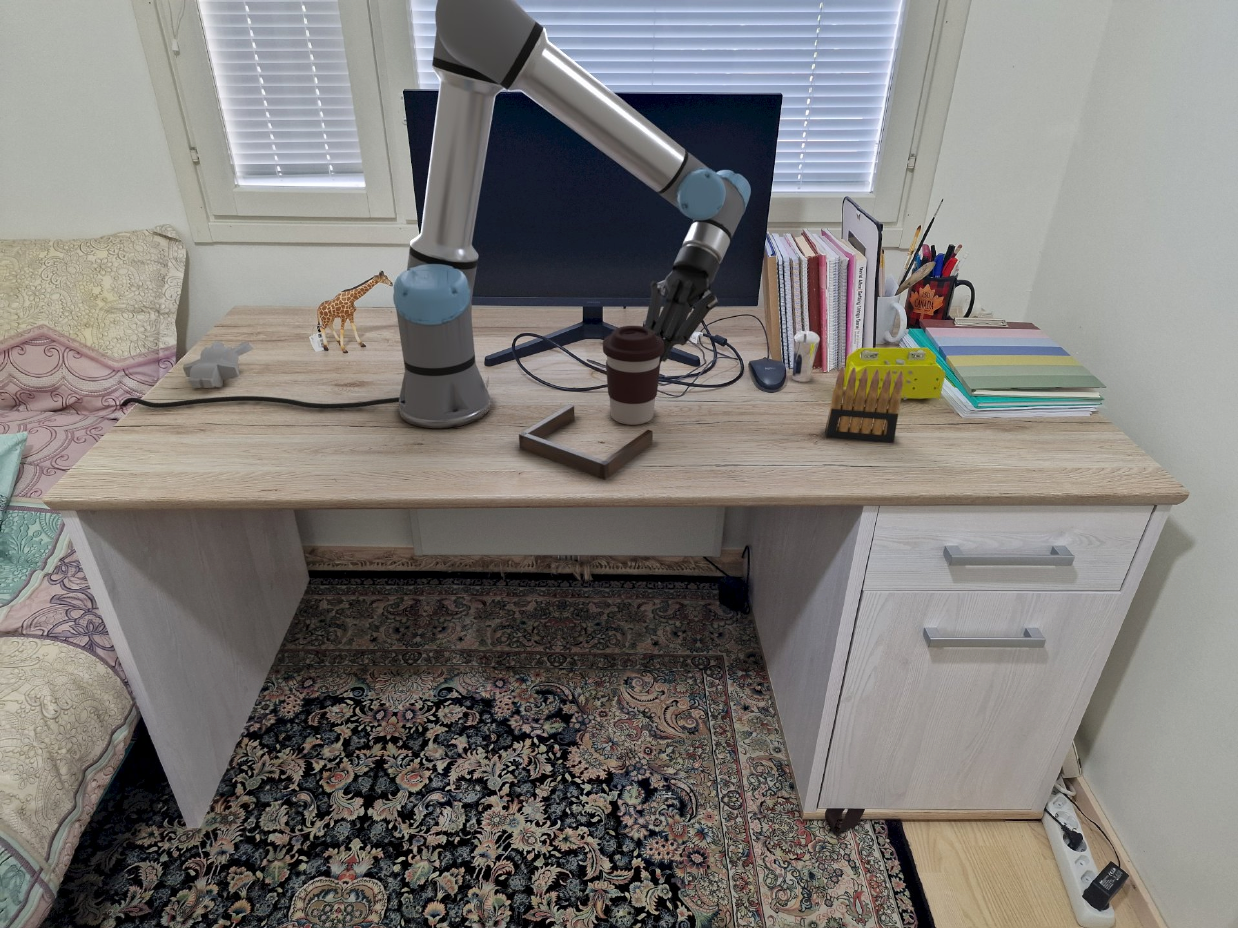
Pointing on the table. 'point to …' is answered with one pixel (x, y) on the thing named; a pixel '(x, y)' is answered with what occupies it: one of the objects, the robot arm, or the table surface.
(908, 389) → the yellow toy chassis
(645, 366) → the coffee cup
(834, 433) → the ammunition clip
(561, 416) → the bay
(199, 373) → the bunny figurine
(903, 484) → the table surface
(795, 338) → the milkshake
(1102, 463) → the table surface
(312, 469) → the table surface
